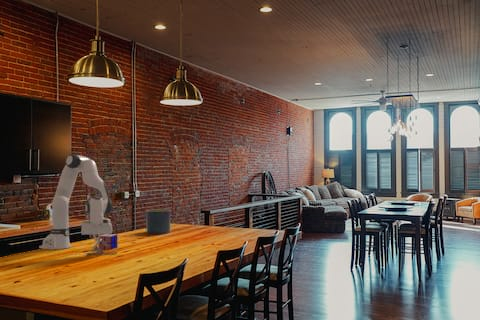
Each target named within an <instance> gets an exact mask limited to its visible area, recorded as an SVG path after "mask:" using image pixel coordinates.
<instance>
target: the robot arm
mask: <svg viewBox="0 0 480 320" xmlns="http://www.w3.org/2000/svg"><path fill="white" fill-rule="evenodd" d="M61 171H62V172H61V174H60V178H59V181H58V184H57V187H56V190H55V194H54V197H53V199H52V202H51V205H52V208H51V210H52V211H51V212H52V214H51V215H52V228H51V229H50V234H48V235H47V236H45V238H43V240H42V245H39V247H38V248H39V249H44V250H45V249H46V250H63V249H68V248H72V245H71V243H70V228H69V224H70V223H69V216H70V215H69V203H70V200H71V196H72V194H73V190H74V187H75V184H76V181H77V178H78V175H79V173H80V172H81V177H82V182H83V183H84V184H85V185H86V186H88V187H91V188H94V189H97V190H98V191H99V192H100V194H101V196H98V195H97V196H95V195H94V196H91V198H90V200H89V201H87V202H86V203H85V210H84V211H85V213H87V214H88V215H89V220H82V221H81V222H80V226H81V230H80V233H81V235H84V236H85V235H87V236H89V235H92V236H93V238H94V242H98V241H99V237H100V236H101V235H104V234H112V233H113V225H112V223H111V218H107V217H104V216H105V215H110V214H111V213H112V212H113V209H114V205H113V201H112V200H111V196H110V194H109V191H108V188H107V185H106V182H105V181H104V179H102V178H101V177H100V175H99V172H98V167H97V164H96V162H95V161H94V160H93V159H92V158H90V157H88V156H84V155H79V154H75V153H71V154H69V155H67V157H66V159H65V166H64V167H63V169H62V170H61ZM96 235H97V236H98V237H96Z"/></svg>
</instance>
